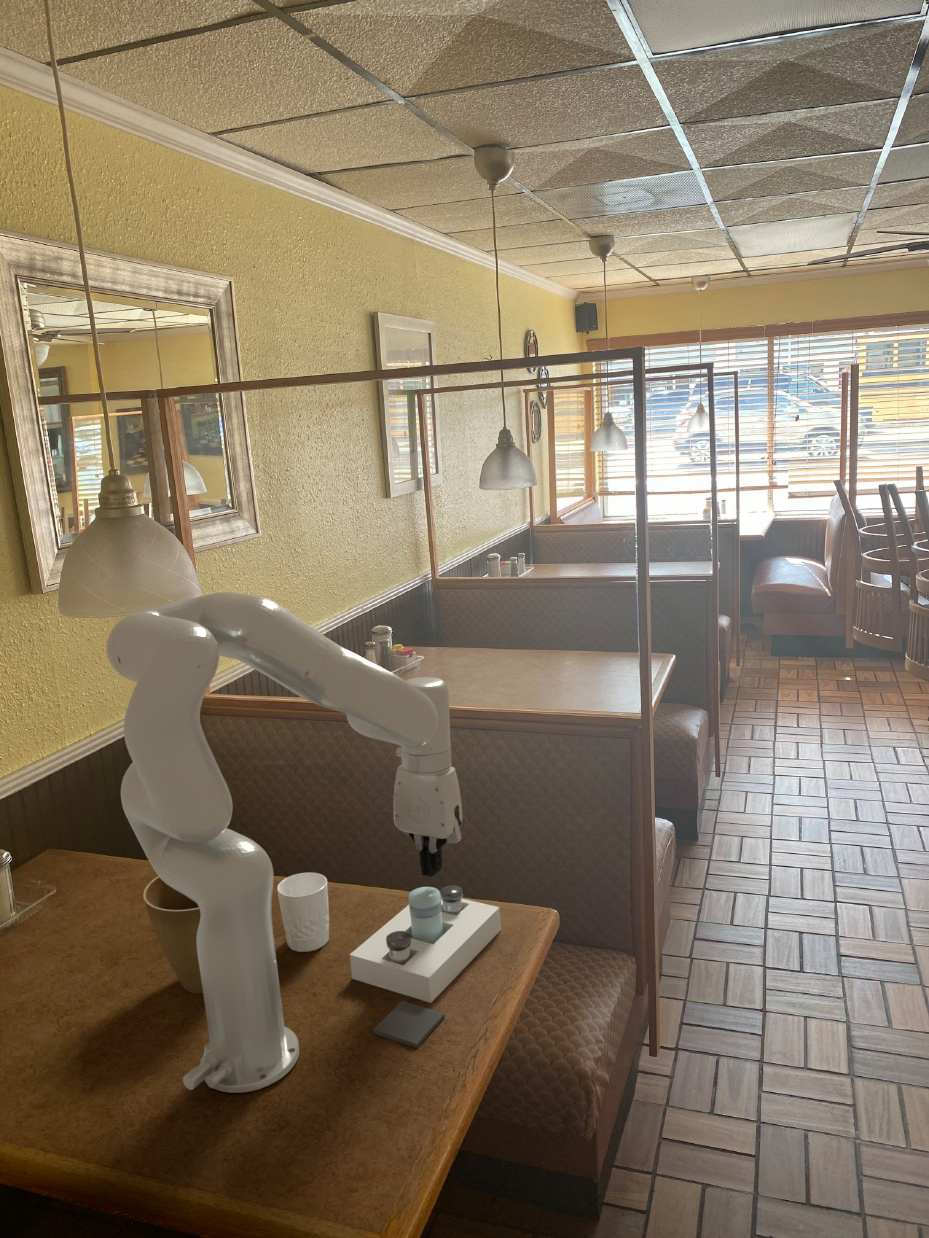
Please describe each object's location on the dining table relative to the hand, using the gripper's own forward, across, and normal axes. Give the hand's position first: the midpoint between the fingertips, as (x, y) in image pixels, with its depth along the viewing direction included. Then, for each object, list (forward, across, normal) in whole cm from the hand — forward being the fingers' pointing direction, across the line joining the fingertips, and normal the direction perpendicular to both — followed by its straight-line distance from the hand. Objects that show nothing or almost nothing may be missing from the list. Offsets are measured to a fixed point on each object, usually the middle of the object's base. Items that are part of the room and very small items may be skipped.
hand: (431, 872), depth 142 cm
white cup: (+13, -20, -7) cm, 25 cm away
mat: (+13, +7, -18) cm, 24 cm away
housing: (+12, 0, -2) cm, 13 cm away
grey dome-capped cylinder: (+12, 0, -10) cm, 15 cm away
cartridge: (+12, 0, -2) cm, 13 cm away
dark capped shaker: (+11, 0, +5) cm, 12 cm away
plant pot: (+14, -27, -22) cm, 37 cm away
